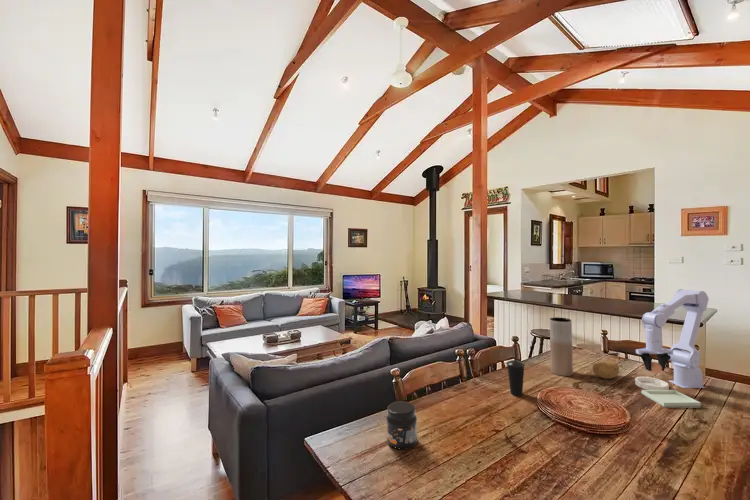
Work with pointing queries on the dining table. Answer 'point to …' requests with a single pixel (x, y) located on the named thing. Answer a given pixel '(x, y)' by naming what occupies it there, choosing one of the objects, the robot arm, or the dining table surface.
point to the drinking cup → (516, 376)
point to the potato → (606, 369)
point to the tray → (671, 399)
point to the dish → (651, 383)
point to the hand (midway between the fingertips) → (654, 370)
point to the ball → (655, 367)
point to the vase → (561, 346)
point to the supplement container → (401, 425)
